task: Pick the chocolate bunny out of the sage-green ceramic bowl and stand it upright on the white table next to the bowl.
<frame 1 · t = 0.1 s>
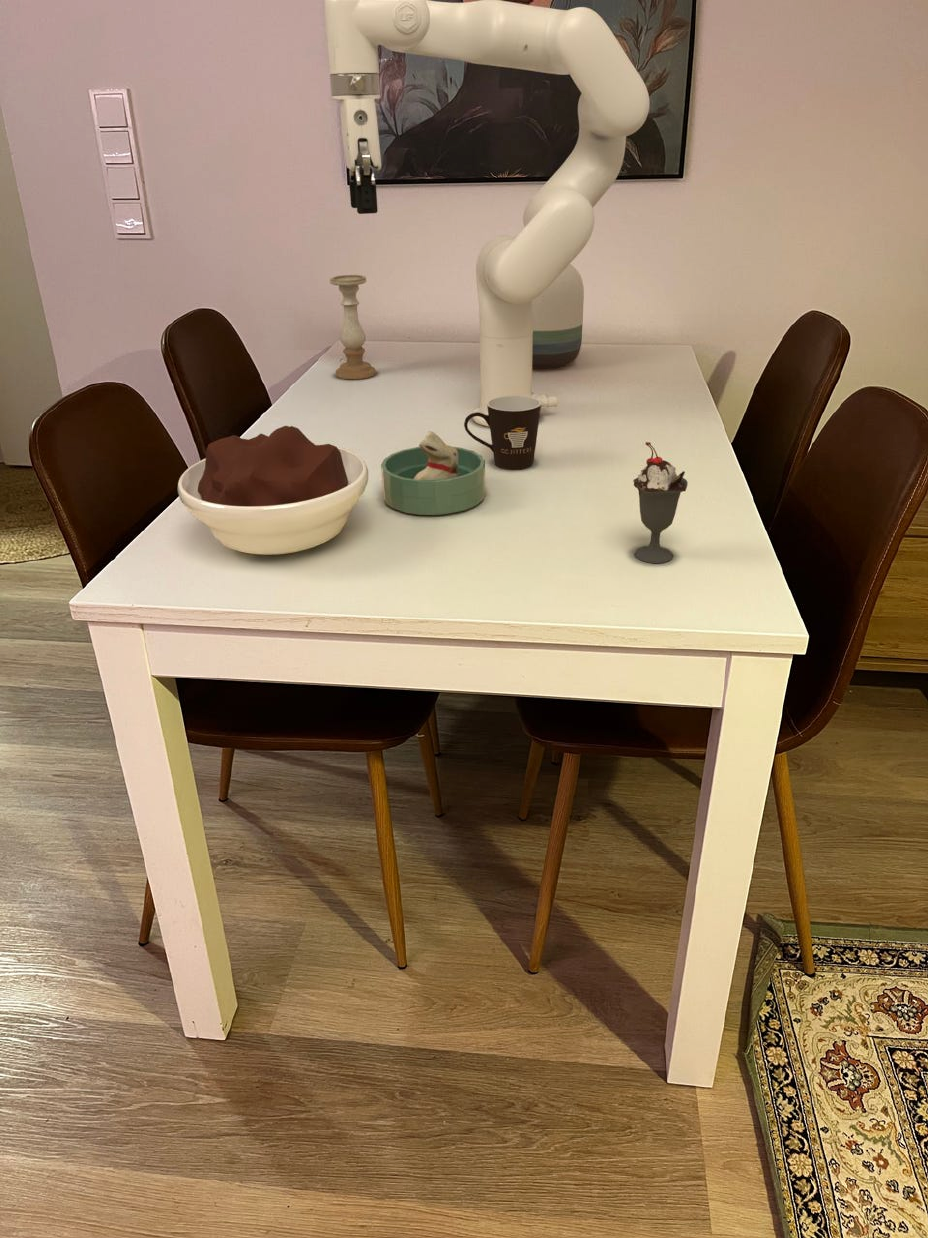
hand: (364, 210, 148), 37 cm above the table, tool pointing down, fingers open, 9 cm apart
cream round dish: (282, 538, 125), on the table
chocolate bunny: (434, 496, 137), resting on bowl
vase: (543, 364, 205), on the table
bowl: (434, 497, 137), on the table
candle holder: (356, 375, 200), on the table
coffee mug: (505, 463, 149), on the table
sundae: (653, 556, 118), on the table
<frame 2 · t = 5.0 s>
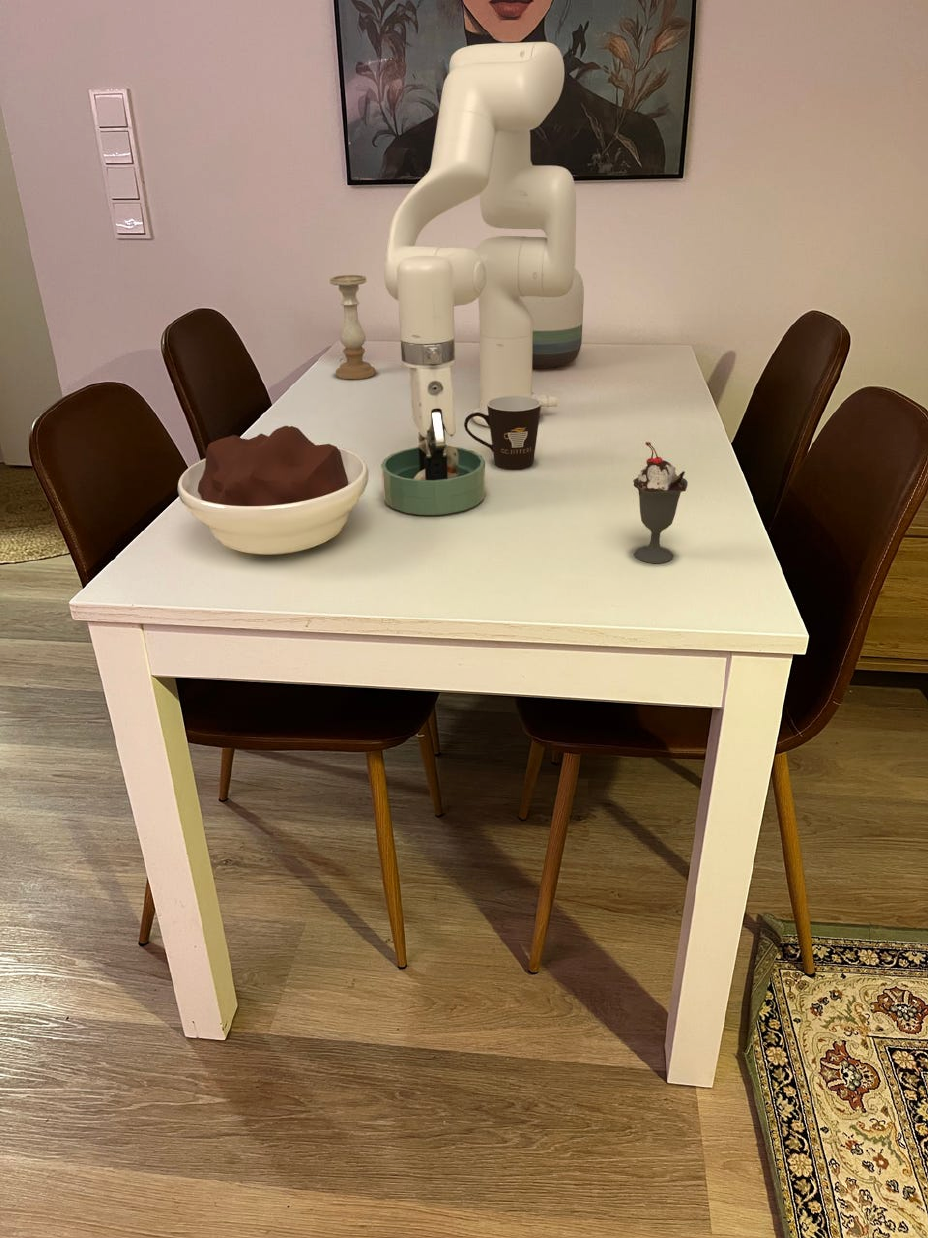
hand: (433, 474, 135), 4 cm above the table, tool pointing down, fingers closed on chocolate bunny, 4 cm apart
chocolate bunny: (434, 496, 137), resting on bowl, touching gripper
everything else where it was.
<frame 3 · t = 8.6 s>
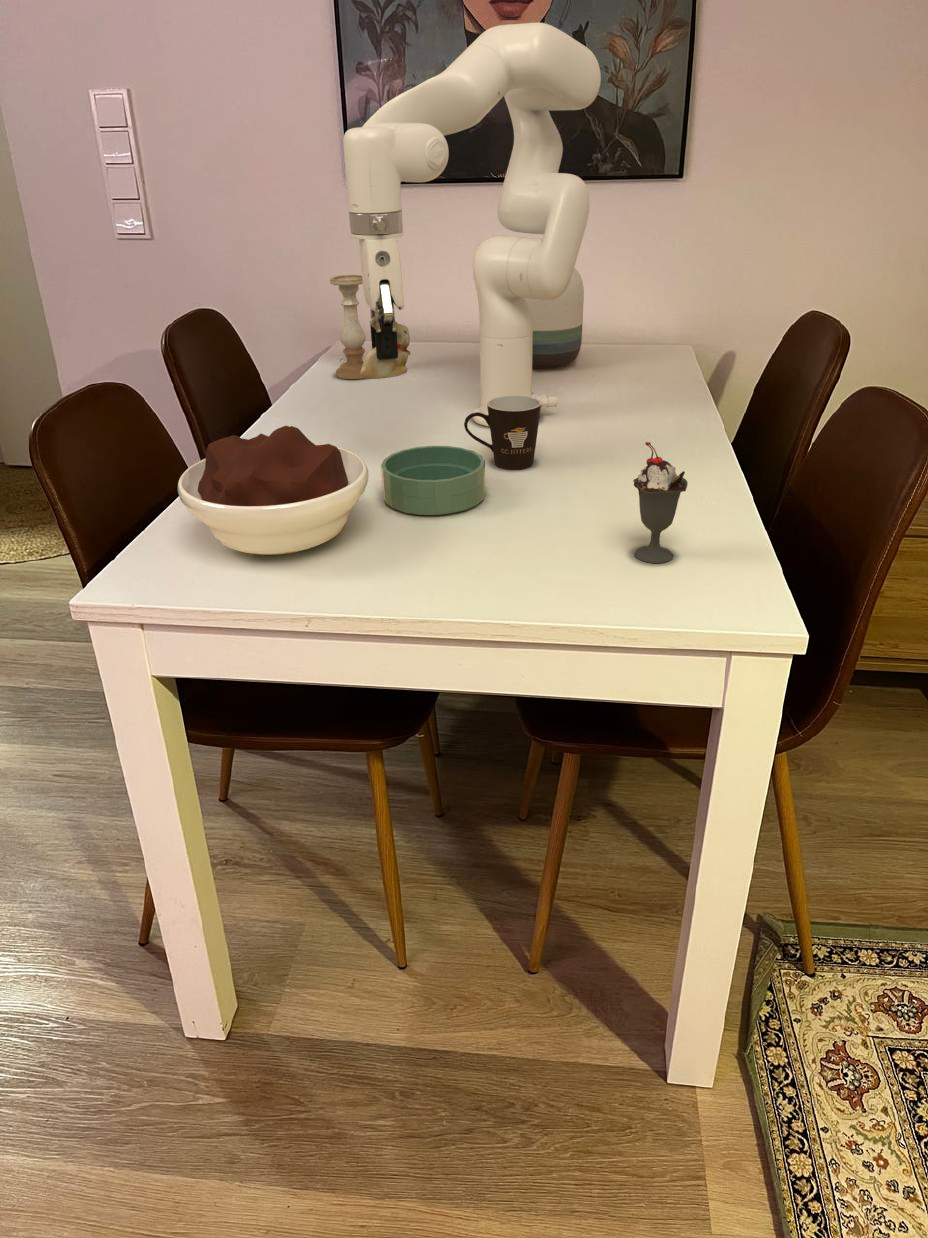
hand: (385, 353, 138), 19 cm above the table, tool pointing down, fingers closed on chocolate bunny, 4 cm apart
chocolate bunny: (386, 375, 140), point 15 cm above the table, touching gripper
everything else where it was.
when the fingers open (3 cm above the table, at t = 12.5 s): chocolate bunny stays where it is, on the table.
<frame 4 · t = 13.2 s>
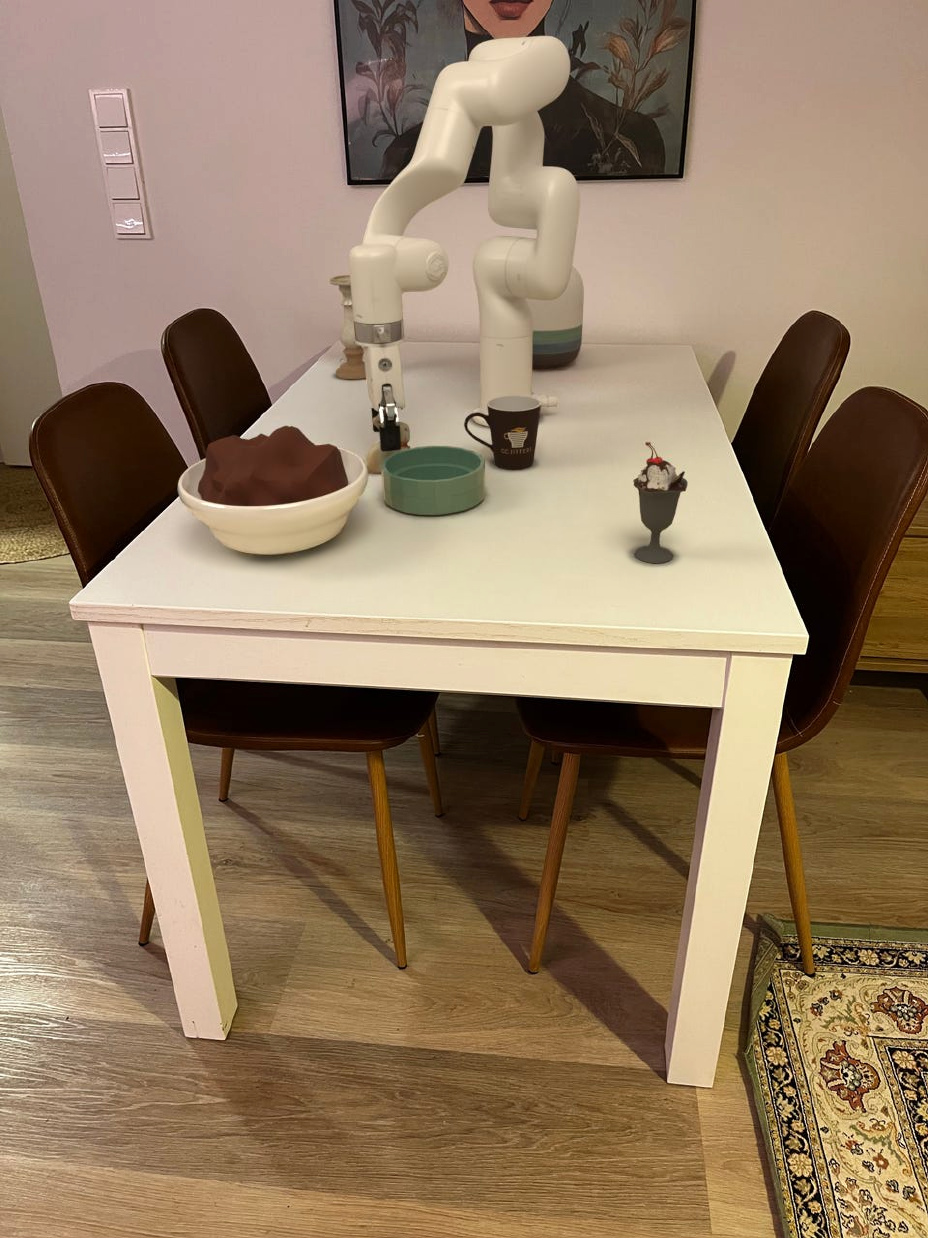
hand: (386, 440, 146), 4 cm above the table, tool pointing down, fingers open, 9 cm apart
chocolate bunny: (387, 468, 149), on the table
everything else where it was.
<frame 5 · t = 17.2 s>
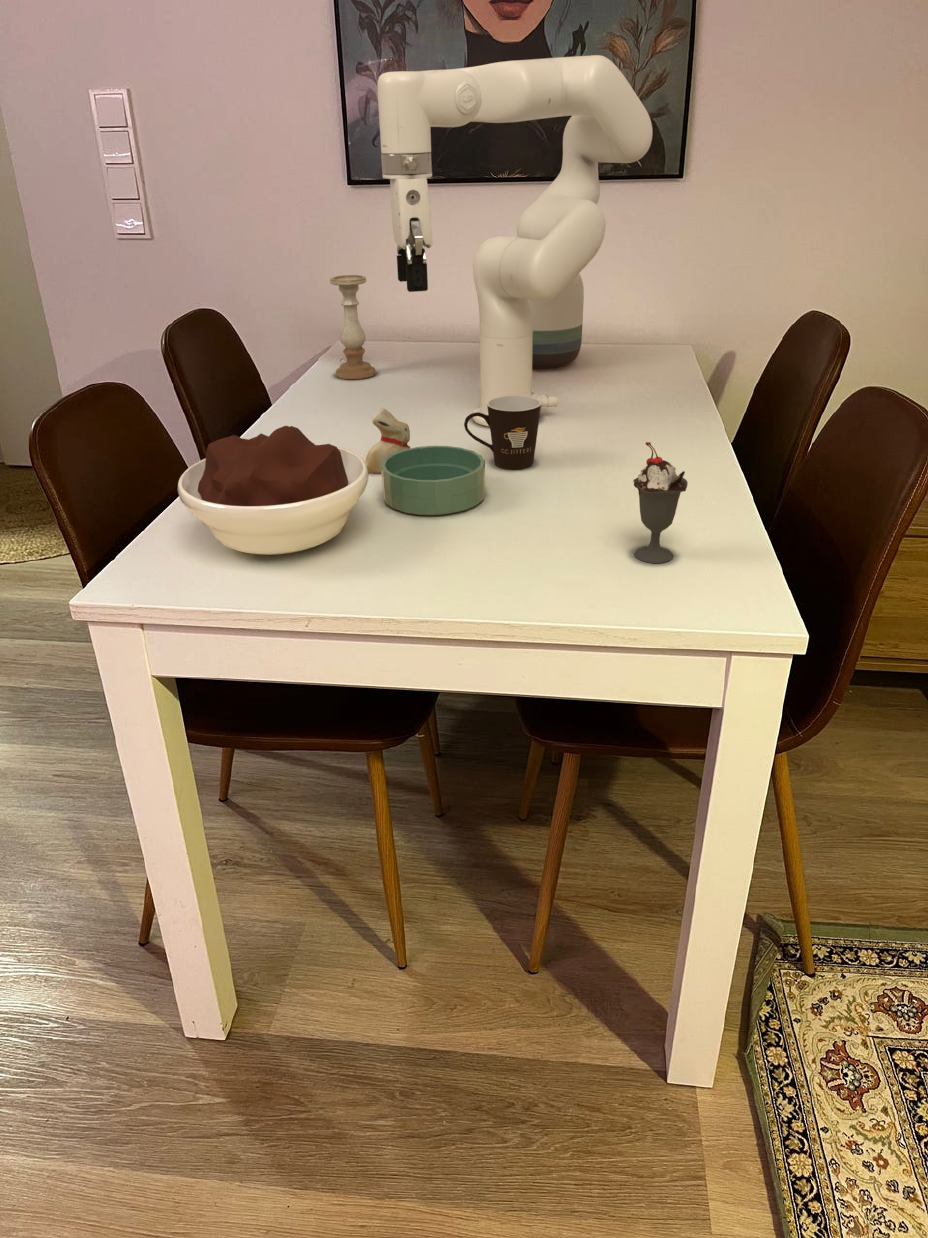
hand: (412, 285, 145), 26 cm above the table, tool pointing down, fingers open, 9 cm apart
nothing on the table moved.
at the end: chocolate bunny inside the target area (0.2 cm from its centre), on the table; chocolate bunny touching table; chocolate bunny tilted 0° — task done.
